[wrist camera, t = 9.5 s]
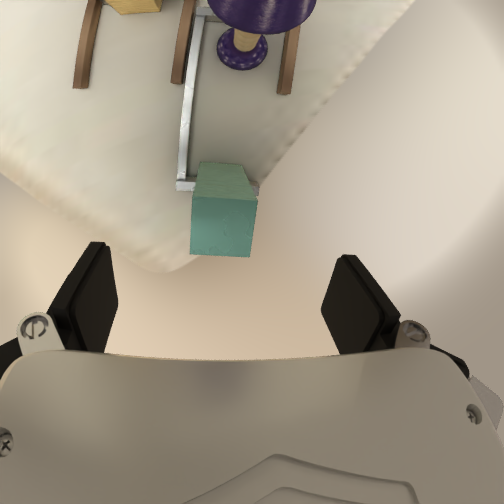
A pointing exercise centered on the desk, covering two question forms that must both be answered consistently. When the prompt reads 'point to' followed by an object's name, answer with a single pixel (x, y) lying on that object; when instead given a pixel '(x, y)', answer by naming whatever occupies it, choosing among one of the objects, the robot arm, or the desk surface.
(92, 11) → the lane rails
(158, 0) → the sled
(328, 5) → the desk surface
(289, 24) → the toy lamp
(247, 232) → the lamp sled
